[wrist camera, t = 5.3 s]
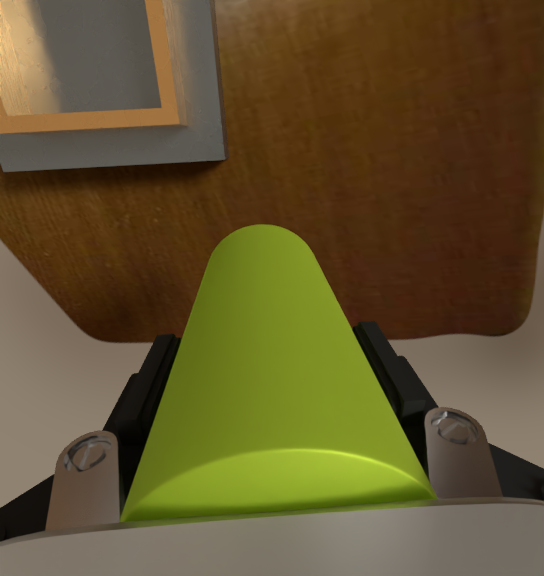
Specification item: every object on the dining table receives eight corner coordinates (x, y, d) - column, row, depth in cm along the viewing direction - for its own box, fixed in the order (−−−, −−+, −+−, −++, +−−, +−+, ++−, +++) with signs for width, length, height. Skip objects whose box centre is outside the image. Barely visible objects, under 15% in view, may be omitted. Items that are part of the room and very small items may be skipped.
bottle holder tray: (-63, -147, 22) (-194, -266, 16) (199, -157, 22) (176, -278, 16) (34, 168, 30) (-27, 175, 23) (228, 157, 30) (221, 161, 24)
